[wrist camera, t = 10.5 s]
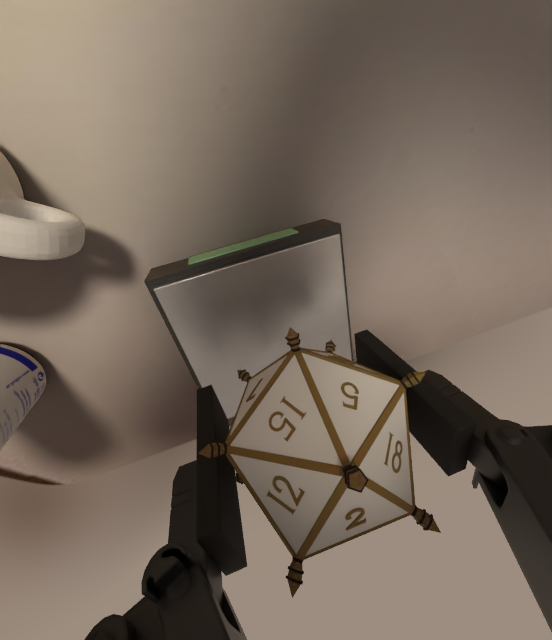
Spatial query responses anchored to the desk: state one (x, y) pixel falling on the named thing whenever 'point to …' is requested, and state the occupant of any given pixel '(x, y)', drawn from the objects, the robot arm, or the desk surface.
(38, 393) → the beverage can
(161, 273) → the scale
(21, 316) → the desk surface
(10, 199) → the cup
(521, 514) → the robot arm
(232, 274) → the scale pan
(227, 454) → the game die
